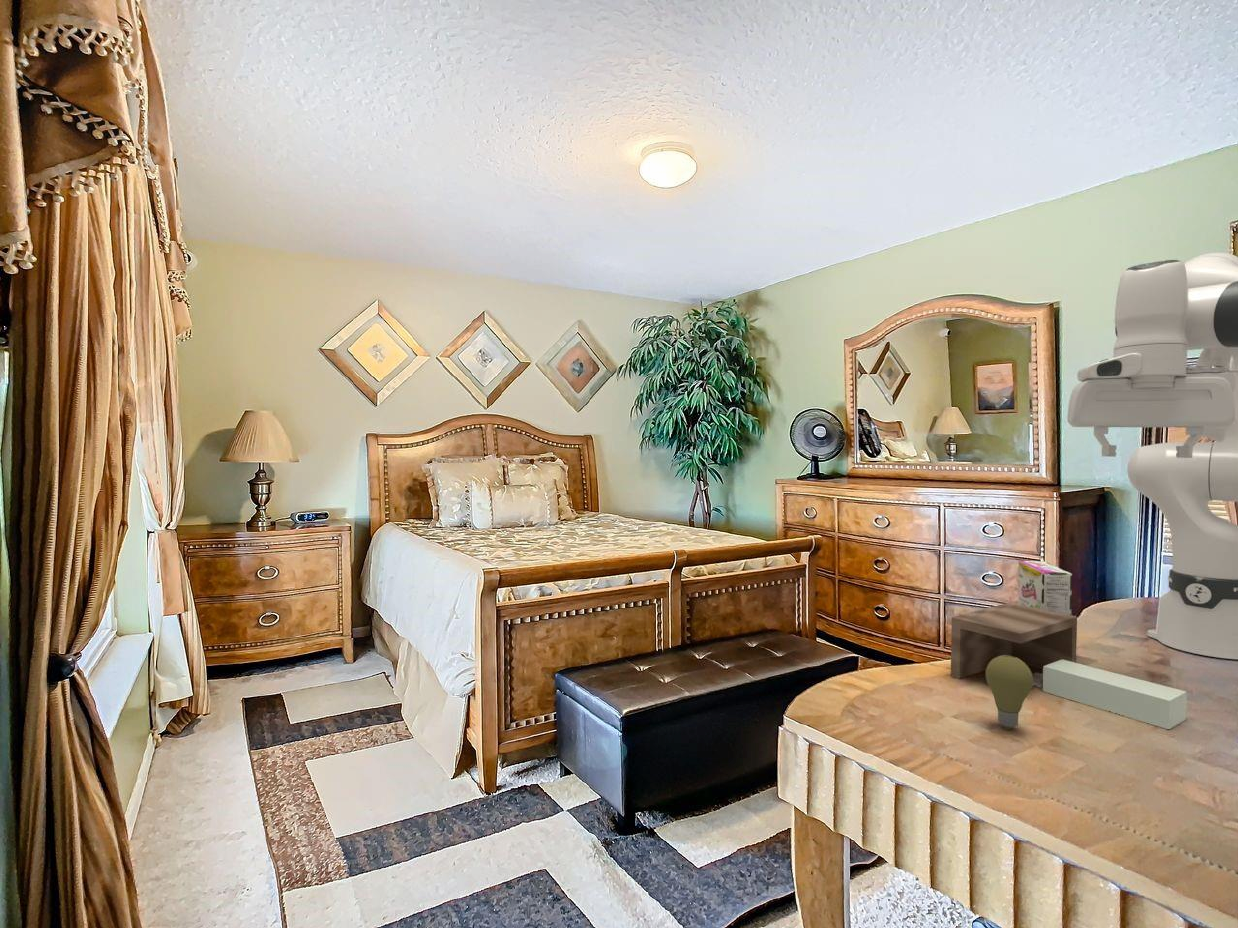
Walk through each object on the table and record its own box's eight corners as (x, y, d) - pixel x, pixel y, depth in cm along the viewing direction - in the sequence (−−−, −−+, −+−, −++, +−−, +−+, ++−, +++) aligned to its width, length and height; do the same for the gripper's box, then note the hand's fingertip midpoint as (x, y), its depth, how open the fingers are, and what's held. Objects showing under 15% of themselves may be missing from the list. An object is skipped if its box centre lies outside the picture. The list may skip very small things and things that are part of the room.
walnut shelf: (1008, 656, 119) (1009, 602, 119) (1075, 675, 110) (1077, 616, 109) (950, 676, 110) (951, 617, 109) (1019, 698, 100) (1020, 633, 100)
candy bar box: (1015, 643, 127) (1017, 559, 126) (1044, 645, 126) (1046, 560, 125) (1040, 663, 116) (1042, 571, 115) (1071, 665, 115) (1074, 572, 114)
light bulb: (1010, 717, 93) (1011, 648, 93) (1041, 735, 88) (1043, 661, 87) (975, 720, 92) (976, 650, 92) (1005, 738, 87) (1006, 664, 86)
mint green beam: (1061, 683, 106) (1062, 659, 106) (1185, 719, 93) (1186, 691, 92) (1042, 691, 103) (1043, 666, 103) (1168, 729, 89) (1169, 700, 89)
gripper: (1225, 367, 99) (1221, 458, 100) (1066, 371, 107) (1063, 455, 107) (1246, 362, 94) (1242, 458, 94) (1076, 366, 101) (1073, 455, 102)
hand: (1145, 457), depth 101 cm, fingers open, 8 cm apart
